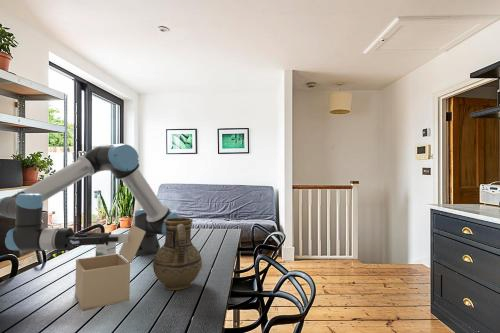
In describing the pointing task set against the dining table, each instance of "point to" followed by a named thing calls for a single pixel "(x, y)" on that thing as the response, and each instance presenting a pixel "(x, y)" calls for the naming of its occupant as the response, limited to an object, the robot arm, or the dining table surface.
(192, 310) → the dining table surface
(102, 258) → the carton
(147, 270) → the dining table surface
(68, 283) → the dining table surface
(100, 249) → the syrup box
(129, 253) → the lid flap
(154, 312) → the dining table surface
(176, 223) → the decorative pitcher
